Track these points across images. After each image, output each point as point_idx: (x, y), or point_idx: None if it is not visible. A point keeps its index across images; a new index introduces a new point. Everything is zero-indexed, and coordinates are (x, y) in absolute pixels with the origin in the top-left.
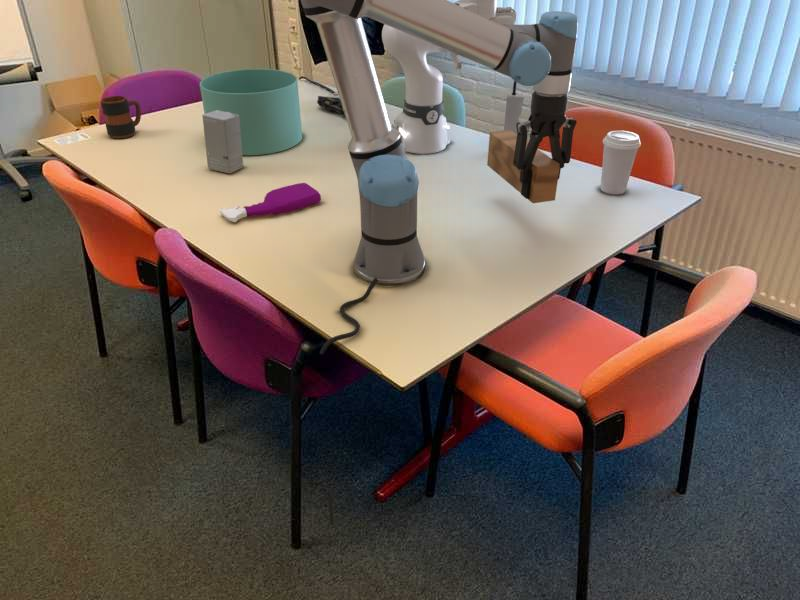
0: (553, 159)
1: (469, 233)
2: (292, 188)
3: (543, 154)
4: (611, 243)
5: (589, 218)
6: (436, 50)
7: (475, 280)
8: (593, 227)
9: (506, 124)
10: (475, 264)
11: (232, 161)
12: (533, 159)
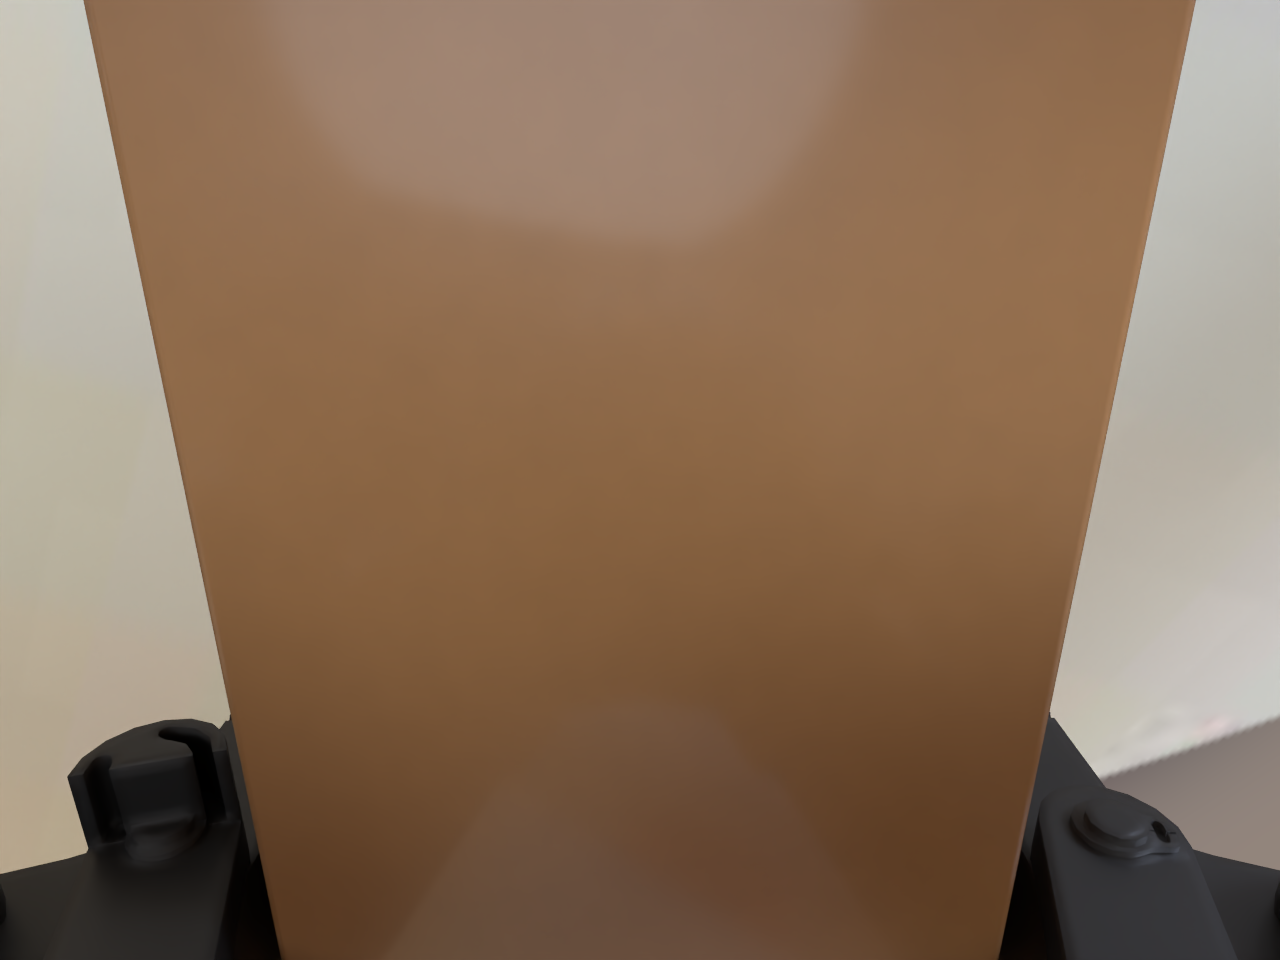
0: (1051, 933)
1: (85, 254)
2: None
3: (976, 689)
4: (1093, 729)
5: (1273, 327)
6: None
7: (9, 853)
8: (1169, 487)
9: None
10: (43, 703)
11: None
12: (456, 919)
